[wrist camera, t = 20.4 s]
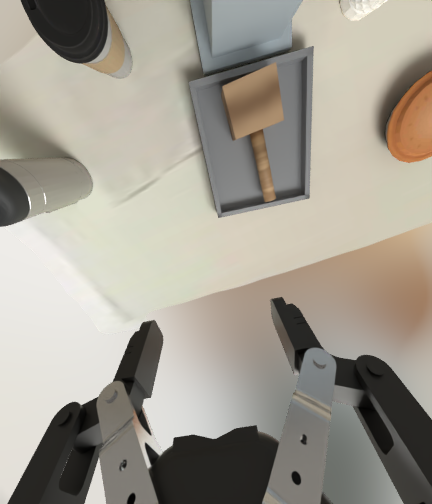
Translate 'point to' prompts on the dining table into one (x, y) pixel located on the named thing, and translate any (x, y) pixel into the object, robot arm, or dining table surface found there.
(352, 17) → the white cup
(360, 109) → the dining table surface
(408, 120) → the pie
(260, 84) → the mallet
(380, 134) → the dining table surface
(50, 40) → the coffee cup
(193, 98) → the tray
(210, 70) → the pedestal
